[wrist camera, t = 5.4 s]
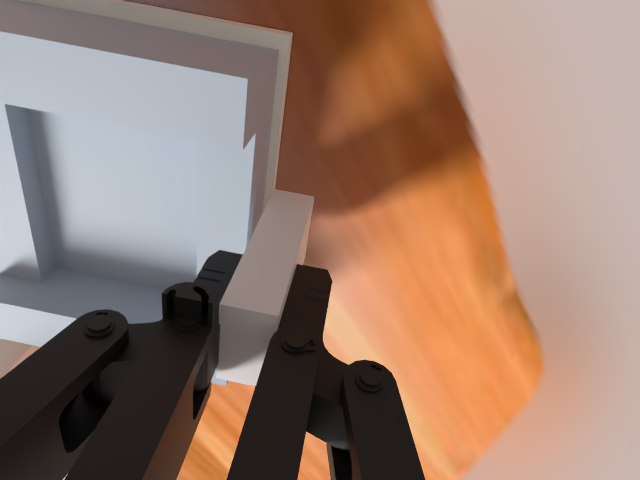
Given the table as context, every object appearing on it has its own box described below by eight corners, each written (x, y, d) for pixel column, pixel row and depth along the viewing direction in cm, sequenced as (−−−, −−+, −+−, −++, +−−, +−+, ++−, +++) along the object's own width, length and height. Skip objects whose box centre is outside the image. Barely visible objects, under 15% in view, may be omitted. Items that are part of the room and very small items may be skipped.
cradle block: (-13, -6, 16) (-121, 7, 13) (278, 49, 16) (247, 78, 12) (44, 276, 22) (-17, 334, 19) (251, 318, 22) (226, 386, 19)
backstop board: (-271, -74, 17) (-415, -79, 14) (292, 32, 16) (270, 52, 13) (-135, 237, 24) (-211, 279, 21) (260, 318, 23) (240, 373, 20)
